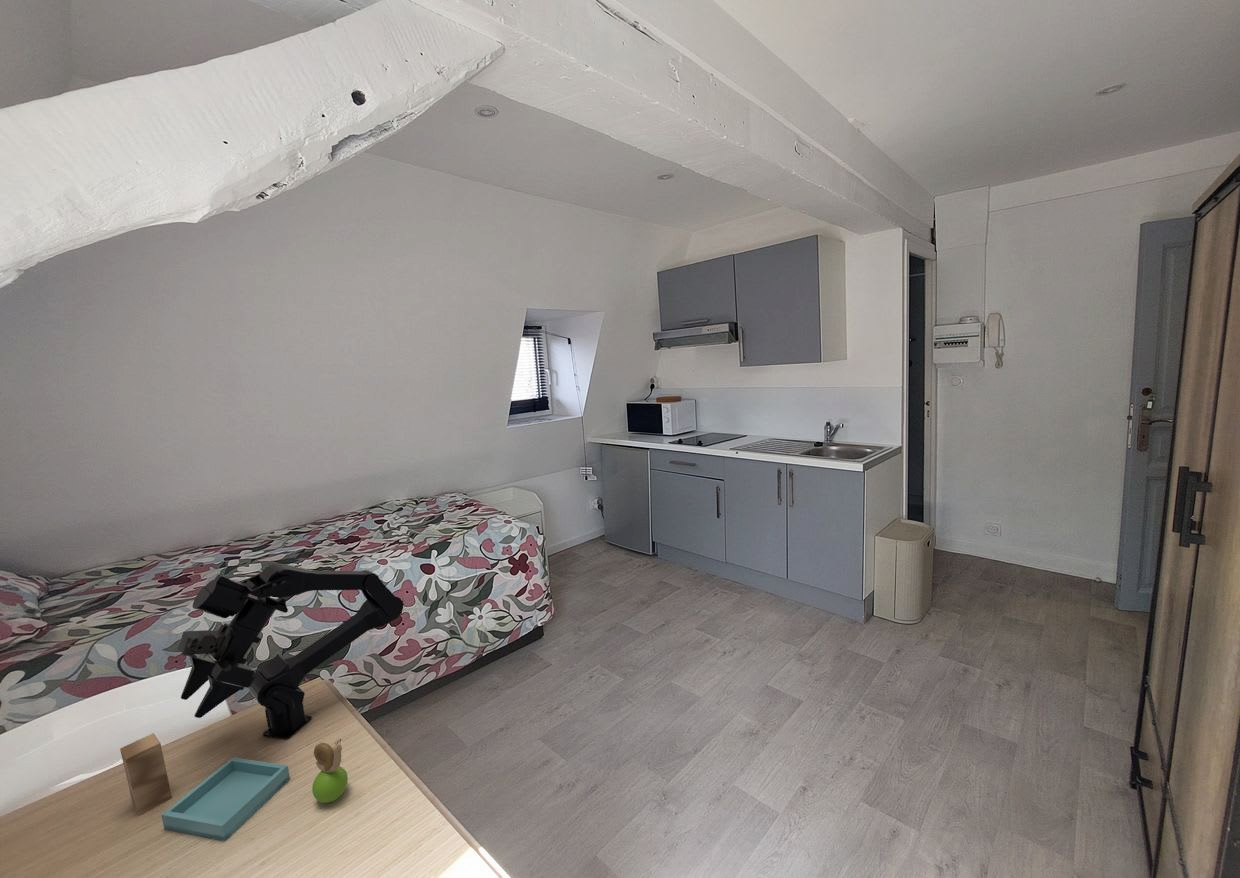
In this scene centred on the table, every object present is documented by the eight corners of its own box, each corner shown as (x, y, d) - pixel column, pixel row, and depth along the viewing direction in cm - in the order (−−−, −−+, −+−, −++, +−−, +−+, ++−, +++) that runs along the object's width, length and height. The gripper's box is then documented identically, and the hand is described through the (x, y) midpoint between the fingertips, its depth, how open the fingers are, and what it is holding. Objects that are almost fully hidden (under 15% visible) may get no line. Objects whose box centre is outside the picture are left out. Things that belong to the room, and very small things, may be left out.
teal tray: (290, 778, 95) (287, 765, 95) (224, 841, 83) (221, 826, 83) (235, 770, 98) (232, 757, 98) (164, 829, 86) (161, 814, 86)
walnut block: (165, 786, 95) (153, 732, 93) (172, 797, 92) (160, 742, 91) (132, 803, 92) (119, 748, 90) (138, 816, 89) (125, 759, 87)
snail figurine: (335, 815, 87) (325, 751, 85) (307, 806, 89) (296, 744, 87) (361, 789, 92) (352, 729, 90) (333, 782, 94) (324, 722, 92)
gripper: (191, 600, 103) (130, 680, 96) (220, 625, 91) (154, 718, 85) (245, 618, 110) (193, 694, 104) (279, 644, 99) (222, 730, 92)
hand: (190, 707), depth 96 cm, fingers open, 9 cm apart
